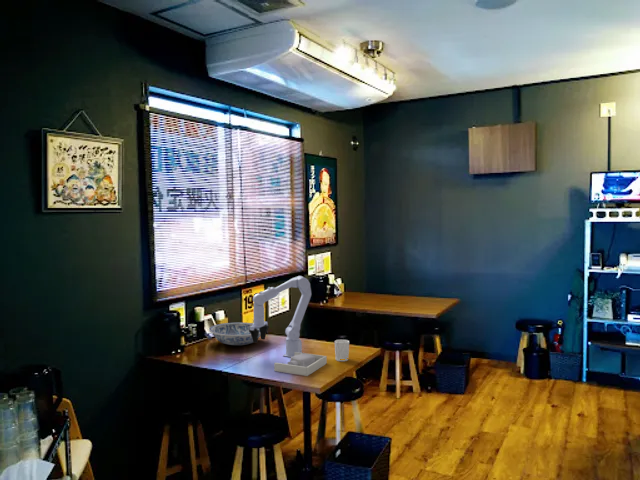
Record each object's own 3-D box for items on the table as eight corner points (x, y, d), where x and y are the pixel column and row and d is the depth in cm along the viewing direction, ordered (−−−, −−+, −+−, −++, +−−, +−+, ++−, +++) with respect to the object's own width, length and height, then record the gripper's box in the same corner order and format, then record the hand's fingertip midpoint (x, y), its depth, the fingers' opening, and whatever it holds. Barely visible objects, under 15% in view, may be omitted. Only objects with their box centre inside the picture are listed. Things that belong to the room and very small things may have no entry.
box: (295, 359, 261) (295, 352, 261) (326, 363, 254) (326, 356, 253) (274, 370, 242) (274, 363, 241) (307, 376, 234) (307, 367, 234)
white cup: (348, 357, 265) (348, 339, 264) (349, 361, 257) (349, 343, 256) (334, 357, 264) (334, 339, 264) (335, 362, 257) (335, 343, 256)
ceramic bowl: (262, 351, 277) (262, 334, 276) (202, 351, 277) (202, 334, 277) (269, 337, 311) (269, 321, 311) (216, 336, 312) (216, 321, 311)
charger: (281, 367, 248) (302, 361, 258) (294, 371, 241) (315, 365, 252) (281, 358, 247) (302, 352, 258) (294, 362, 241) (315, 356, 252)
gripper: (259, 313, 271) (260, 337, 272) (245, 317, 258) (245, 343, 259) (270, 314, 268) (270, 338, 269) (256, 319, 255) (256, 344, 256)
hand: (259, 340), depth 264 cm, fingers open, 7 cm apart
